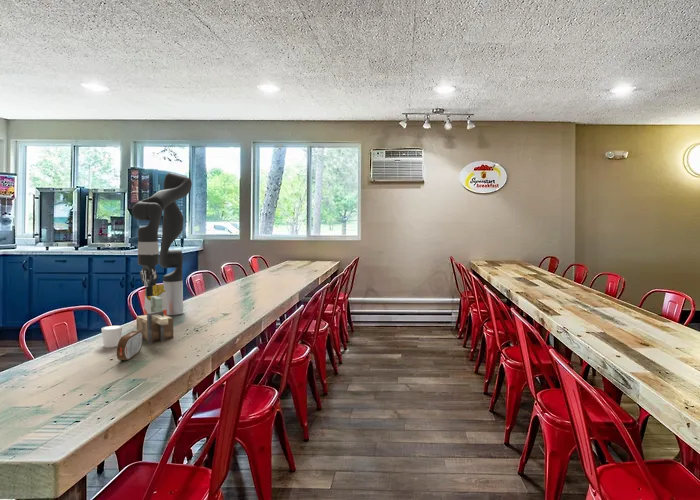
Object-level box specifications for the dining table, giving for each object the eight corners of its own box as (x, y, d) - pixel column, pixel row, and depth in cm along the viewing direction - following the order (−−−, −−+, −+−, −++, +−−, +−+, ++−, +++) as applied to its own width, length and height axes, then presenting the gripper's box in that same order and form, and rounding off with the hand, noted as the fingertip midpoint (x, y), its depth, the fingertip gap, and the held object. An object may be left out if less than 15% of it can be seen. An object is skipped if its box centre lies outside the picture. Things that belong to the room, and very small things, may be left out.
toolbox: (133, 336, 166) (132, 307, 165) (158, 331, 173) (158, 304, 173) (149, 344, 155) (148, 313, 154) (175, 338, 163) (175, 309, 162)
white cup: (126, 343, 156) (126, 326, 155) (110, 348, 149) (110, 330, 149) (113, 341, 158) (113, 324, 157) (97, 346, 151) (96, 328, 151)
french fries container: (158, 325, 184) (157, 286, 183) (143, 321, 190) (143, 284, 188) (167, 322, 188) (166, 285, 187) (152, 319, 194) (152, 283, 192)
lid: (136, 319, 166) (136, 297, 166) (158, 315, 173) (158, 294, 172) (148, 324, 158) (147, 301, 158) (171, 320, 165) (170, 298, 164)
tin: (135, 349, 148) (135, 327, 148) (144, 349, 149) (144, 327, 148) (115, 364, 133) (114, 339, 133) (125, 364, 134) (124, 339, 133)
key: (151, 320, 157) (150, 315, 157) (157, 319, 159) (157, 314, 159) (161, 325, 151) (161, 319, 150) (168, 324, 152) (168, 318, 152)
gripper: (131, 252, 160) (132, 294, 162) (145, 254, 151) (146, 299, 153) (151, 251, 166) (152, 292, 167) (165, 253, 157) (165, 297, 158)
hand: (149, 295), depth 160 cm, fingers closed
